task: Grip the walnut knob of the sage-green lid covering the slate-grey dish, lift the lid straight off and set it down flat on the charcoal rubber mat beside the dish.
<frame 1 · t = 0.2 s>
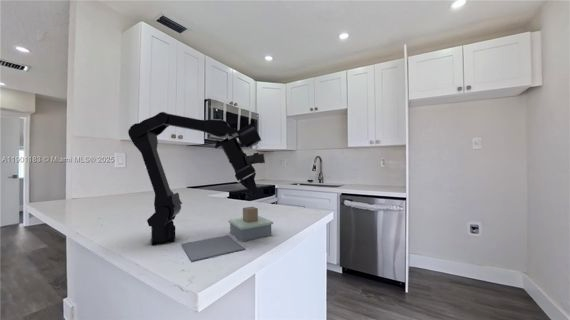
hand: (257, 194, 79), 15 cm above the counter, tool tilted 30°, fingers open, 9 cm apart
lid: (250, 222, 82), point 4 cm above the counter, touching dish
dish: (250, 234, 82), on the counter
ball: (250, 227, 82), point 2 cm above the counter, touching dish
mat: (212, 247, 70), on the counter
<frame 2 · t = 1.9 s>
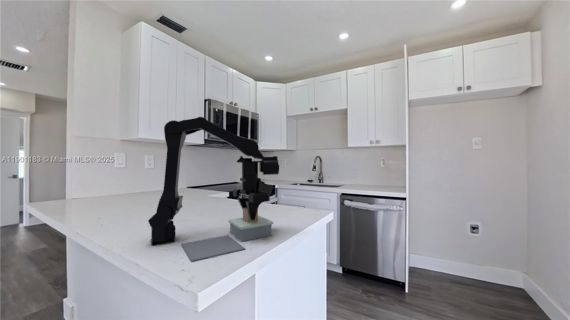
hand: (250, 218, 82), 6 cm above the counter, tool pointing down, fingers closed on lid, 4 cm apart
lid: (250, 222, 82), point 4 cm above the counter, touching dish, gripper
everything else where it was.
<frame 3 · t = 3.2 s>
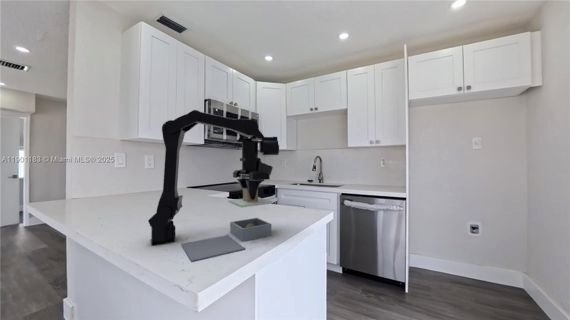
hand: (250, 198, 82), 13 cm above the counter, tool pointing down, fingers closed on lid, 4 cm apart
lid: (250, 202, 82), point 11 cm above the counter, touching gripper
everything else where it was.
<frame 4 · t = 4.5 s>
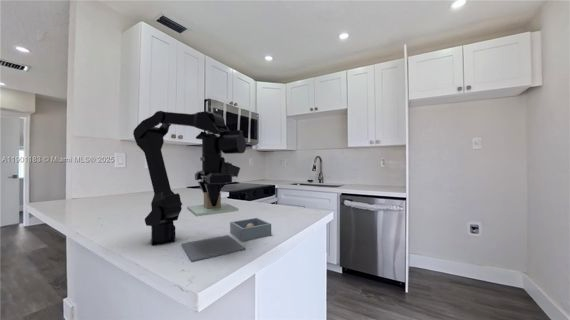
hand: (212, 205, 70), 13 cm above the counter, tool pointing down, fingers closed on lid, 4 cm apart
lid: (212, 209, 70), point 11 cm above the counter, touching gripper
everything else where it was.
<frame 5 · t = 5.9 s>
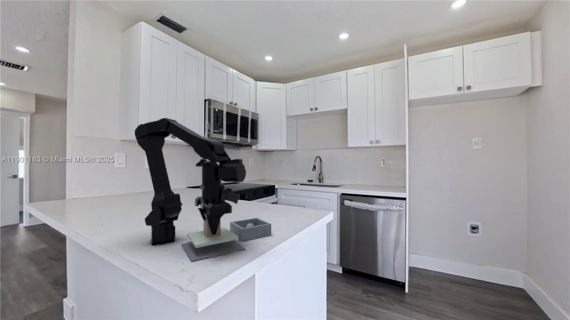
hand: (211, 232, 70), 4 cm above the counter, tool pointing down, fingers closed on lid, 4 cm apart
lid: (212, 237, 70), point 3 cm above the counter, touching gripper
everything else where it was.
when the fingers open (3 cm above the counter, at t = 6.9 s): lid drops 1 cm, resting on mat.
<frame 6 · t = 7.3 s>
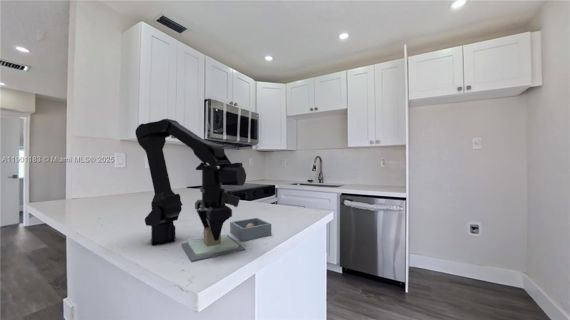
hand: (212, 236, 70), 3 cm above the counter, tool pointing down, fingers open, 8 cm apart
lid: (212, 245, 70), resting on mat
everything else where it was.
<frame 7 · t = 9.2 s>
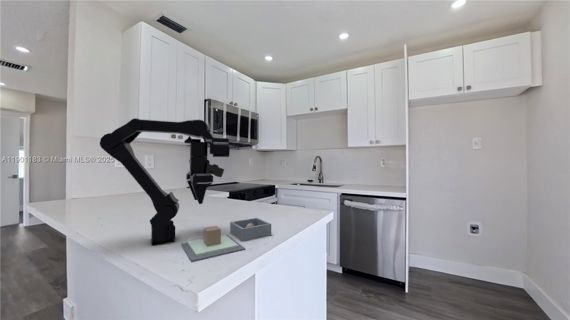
hand: (198, 201, 79), 12 cm above the counter, tool pointing down, fingers open, 9 cm apart
nothing on the counter moved.
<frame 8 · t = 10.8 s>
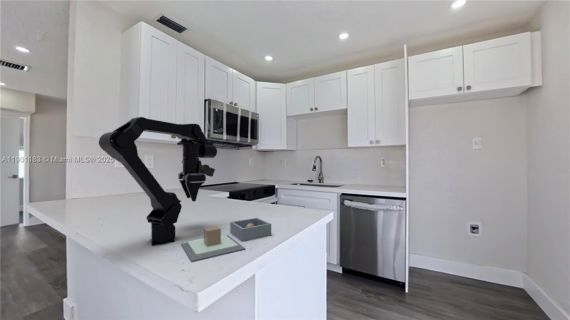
hand: (191, 199, 85), 12 cm above the counter, tool pointing down, fingers open, 9 cm apart
nothing on the counter moved.
at the end: lid inside the target area on the mat (0.0 cm from its centre), point 0.4 cm above the mat's base; lid touching mat; lid tilted 0° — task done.
